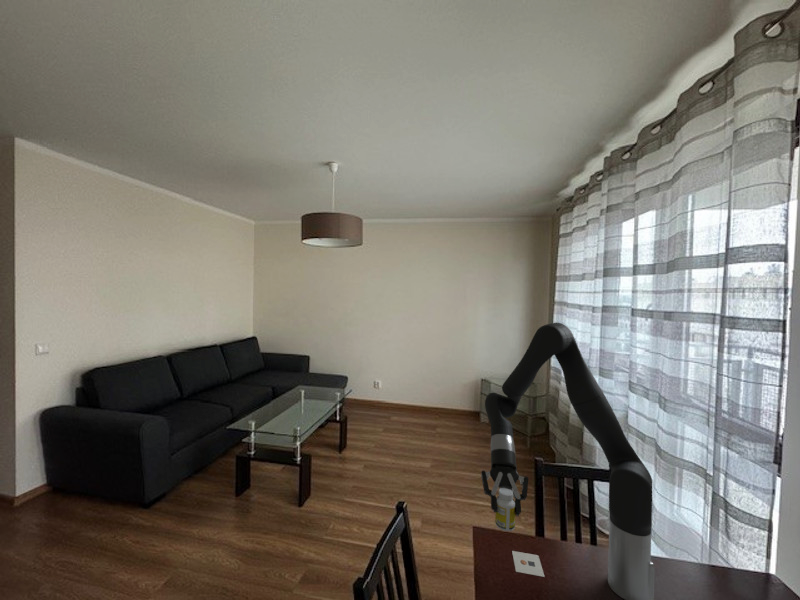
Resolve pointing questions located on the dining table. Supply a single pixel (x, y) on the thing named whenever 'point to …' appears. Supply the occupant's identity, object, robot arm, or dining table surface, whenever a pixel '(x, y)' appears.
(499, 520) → the supplement bottle
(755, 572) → the dining table surface
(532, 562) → the tile
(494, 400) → the robot arm
